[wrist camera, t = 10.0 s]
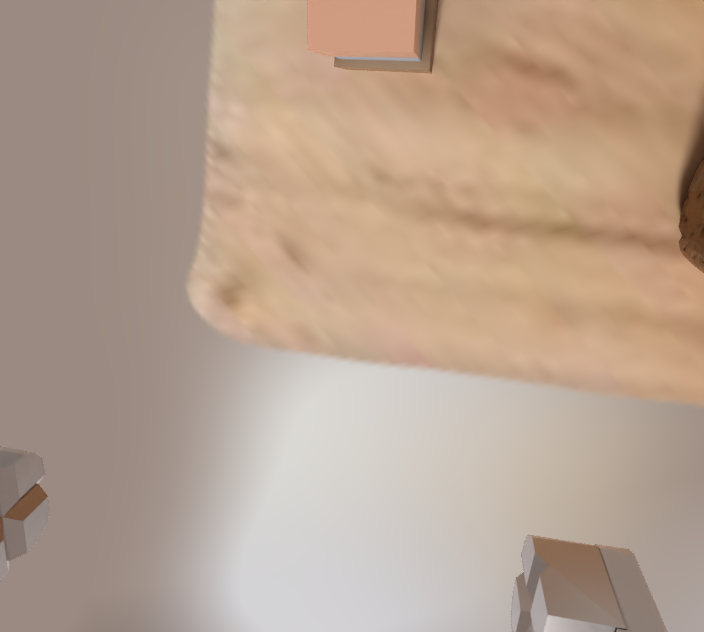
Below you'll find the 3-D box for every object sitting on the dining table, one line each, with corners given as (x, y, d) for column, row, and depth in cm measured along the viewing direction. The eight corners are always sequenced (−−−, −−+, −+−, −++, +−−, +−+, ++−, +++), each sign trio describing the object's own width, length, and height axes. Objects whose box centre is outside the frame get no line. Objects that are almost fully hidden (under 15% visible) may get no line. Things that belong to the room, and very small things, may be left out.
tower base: (350, -27, 39) (337, -43, 35) (440, -25, 39) (439, -41, 34) (347, 69, 42) (334, 66, 37) (431, 73, 41) (429, 70, 36)
